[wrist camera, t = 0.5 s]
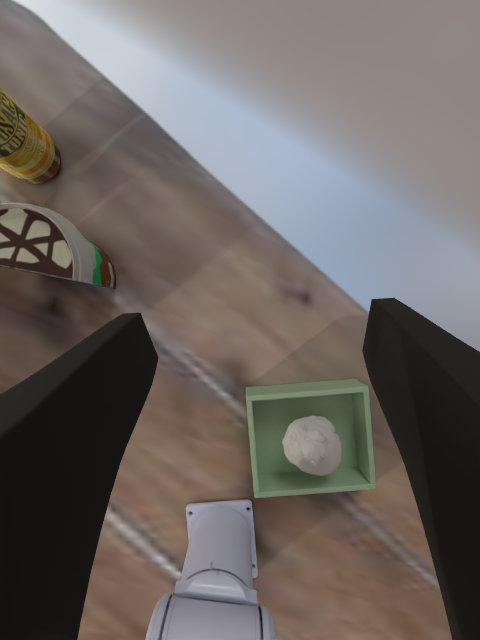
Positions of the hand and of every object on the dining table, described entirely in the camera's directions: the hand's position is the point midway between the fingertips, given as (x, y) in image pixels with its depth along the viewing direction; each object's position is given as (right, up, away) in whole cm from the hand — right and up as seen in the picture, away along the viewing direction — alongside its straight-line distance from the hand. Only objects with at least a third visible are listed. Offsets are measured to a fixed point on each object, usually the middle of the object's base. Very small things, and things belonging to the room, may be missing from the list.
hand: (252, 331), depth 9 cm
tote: (+7, -13, +25) cm, 29 cm away
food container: (-20, +8, +25) cm, 33 cm away
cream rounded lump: (+7, -13, +25) cm, 29 cm away
